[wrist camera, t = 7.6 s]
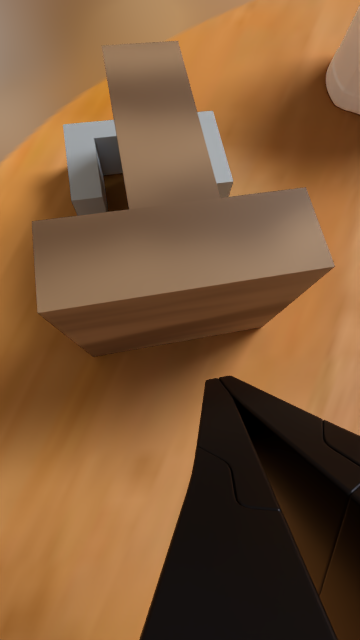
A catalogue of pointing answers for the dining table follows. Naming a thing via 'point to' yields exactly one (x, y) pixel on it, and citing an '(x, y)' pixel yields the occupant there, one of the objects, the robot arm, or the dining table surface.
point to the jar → (346, 70)
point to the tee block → (171, 230)
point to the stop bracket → (104, 159)
